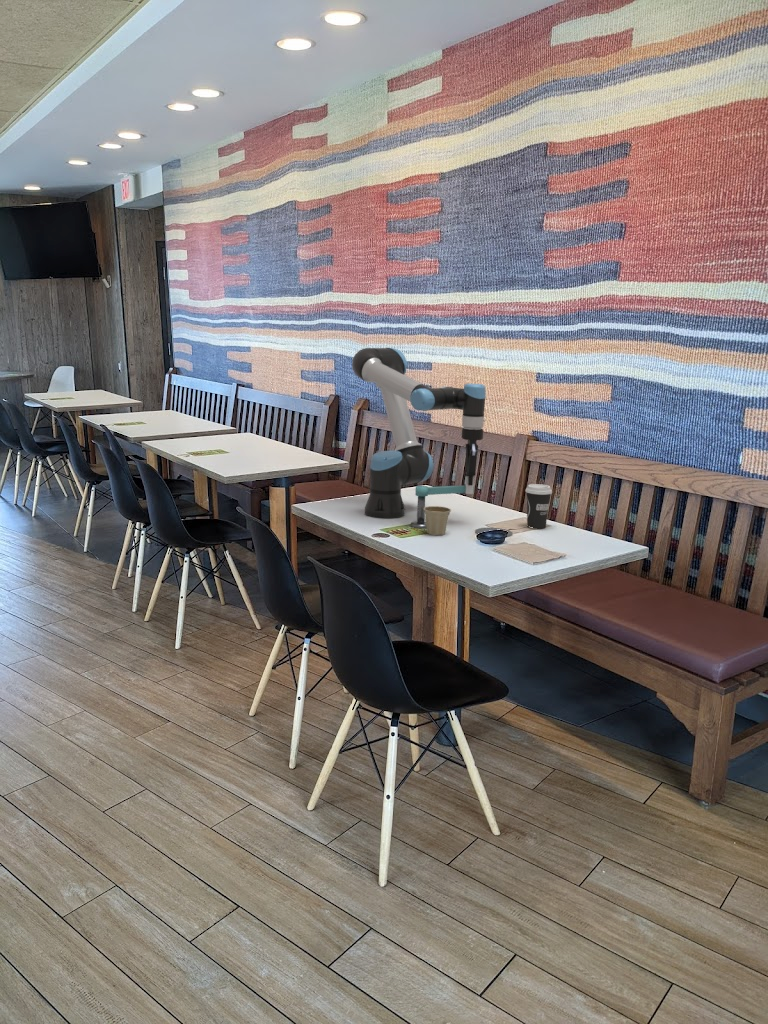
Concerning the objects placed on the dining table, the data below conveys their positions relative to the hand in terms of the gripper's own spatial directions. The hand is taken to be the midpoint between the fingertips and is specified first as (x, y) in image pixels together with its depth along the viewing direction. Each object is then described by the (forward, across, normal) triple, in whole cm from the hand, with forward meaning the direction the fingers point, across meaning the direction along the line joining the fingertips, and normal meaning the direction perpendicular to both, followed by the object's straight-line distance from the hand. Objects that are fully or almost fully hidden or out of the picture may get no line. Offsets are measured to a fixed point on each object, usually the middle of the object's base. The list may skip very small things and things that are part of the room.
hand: (469, 493), depth 297 cm
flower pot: (+12, -14, +13) cm, 22 cm away
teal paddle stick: (0, -1, +9) cm, 9 cm away
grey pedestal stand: (+12, -4, +17) cm, 21 cm away
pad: (+11, -12, -8) cm, 18 cm away
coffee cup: (+12, -2, -25) cm, 27 cm away
